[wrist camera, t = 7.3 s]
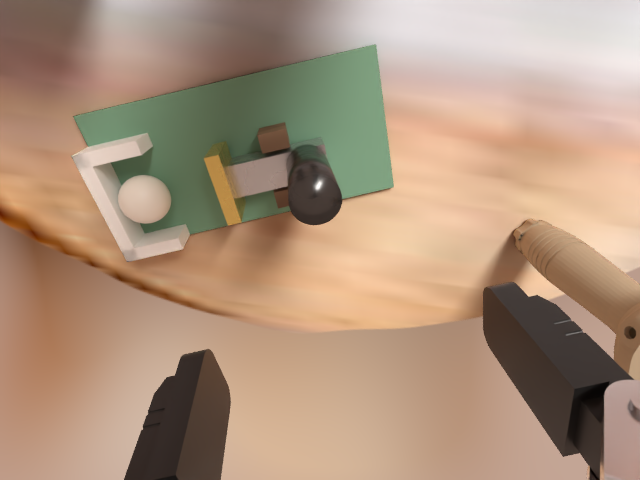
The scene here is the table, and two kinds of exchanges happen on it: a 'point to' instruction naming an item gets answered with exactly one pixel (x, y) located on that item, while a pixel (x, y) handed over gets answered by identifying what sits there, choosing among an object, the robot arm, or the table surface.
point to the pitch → (254, 132)
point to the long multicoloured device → (277, 180)
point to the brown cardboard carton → (272, 141)
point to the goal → (105, 194)
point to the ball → (144, 199)
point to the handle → (587, 284)
